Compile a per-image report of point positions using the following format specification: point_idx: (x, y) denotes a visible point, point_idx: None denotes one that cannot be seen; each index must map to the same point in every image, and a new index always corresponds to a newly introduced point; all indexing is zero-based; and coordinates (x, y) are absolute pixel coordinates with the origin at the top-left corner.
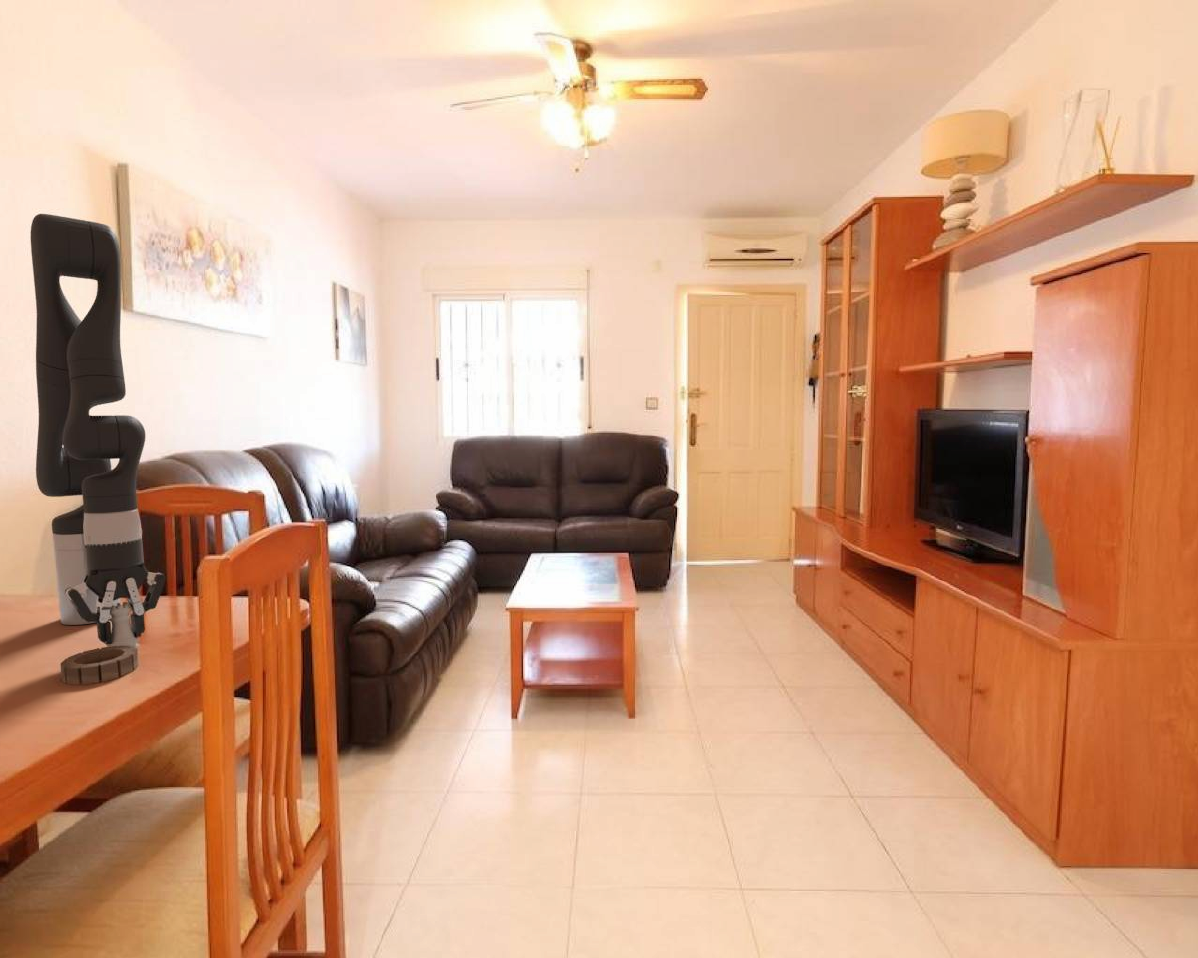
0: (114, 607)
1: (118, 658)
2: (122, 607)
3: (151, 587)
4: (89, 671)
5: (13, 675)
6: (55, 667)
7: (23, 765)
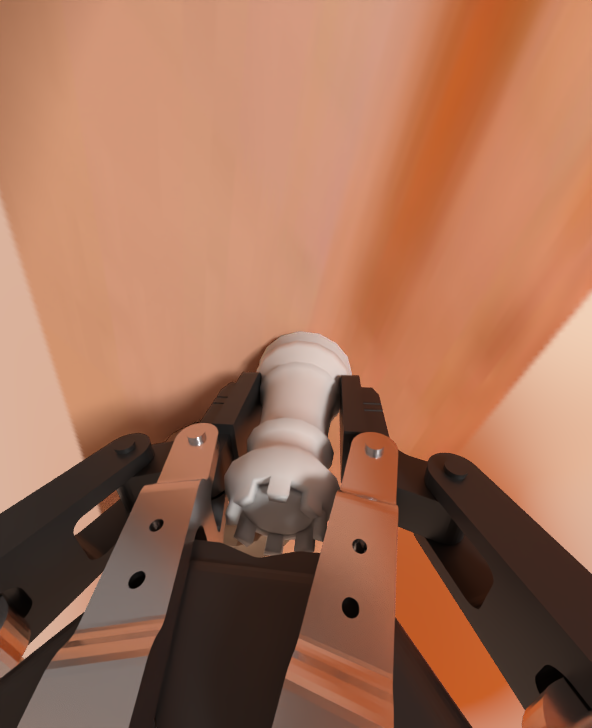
0: (244, 535)
1: (247, 550)
2: (282, 543)
3: (533, 650)
4: None
5: (51, 341)
6: (139, 362)
7: None
